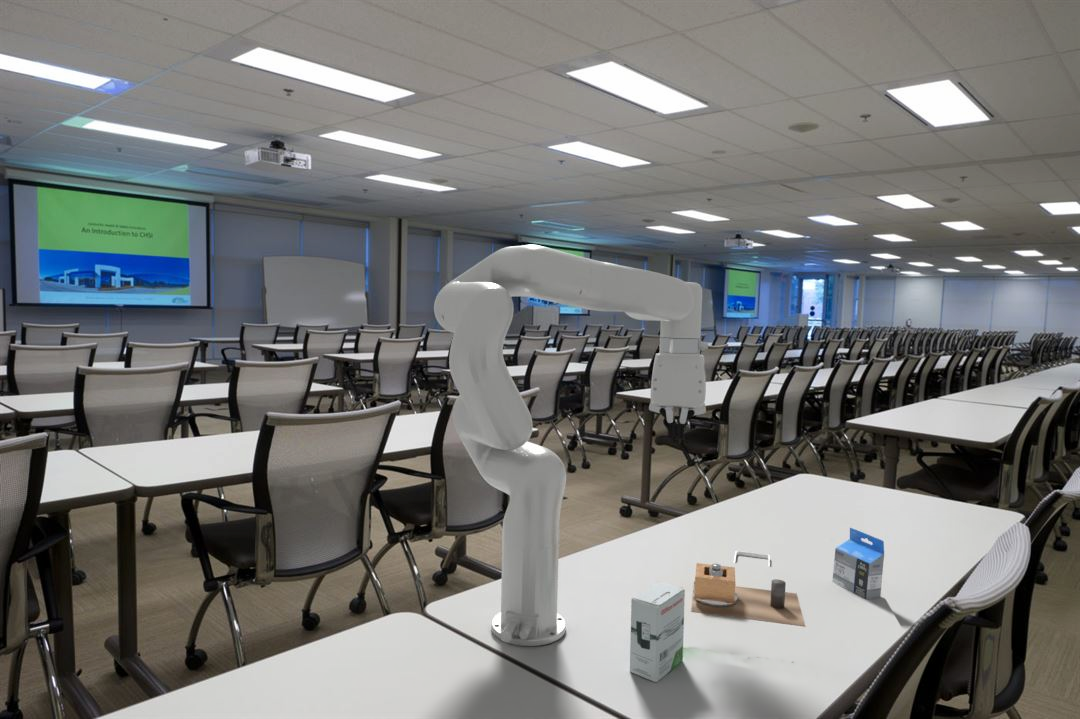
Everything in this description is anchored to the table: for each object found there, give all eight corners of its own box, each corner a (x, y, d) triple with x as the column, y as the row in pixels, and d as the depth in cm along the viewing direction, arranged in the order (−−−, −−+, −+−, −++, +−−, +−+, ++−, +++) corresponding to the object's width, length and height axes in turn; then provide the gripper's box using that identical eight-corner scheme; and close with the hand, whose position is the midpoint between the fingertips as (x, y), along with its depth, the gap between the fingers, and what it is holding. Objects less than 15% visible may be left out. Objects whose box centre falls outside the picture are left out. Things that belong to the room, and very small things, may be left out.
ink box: (656, 650, 113) (659, 579, 112) (684, 661, 110) (687, 587, 109) (627, 672, 106) (630, 596, 105) (655, 684, 103) (658, 605, 102)
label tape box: (830, 588, 140) (834, 528, 139) (846, 586, 141) (850, 526, 140) (865, 607, 131) (869, 543, 130) (882, 604, 133) (886, 541, 132)
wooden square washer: (734, 603, 126) (735, 581, 125) (694, 598, 127) (695, 576, 127) (733, 588, 132) (734, 567, 132) (695, 583, 134) (696, 563, 134)
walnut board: (804, 634, 120) (806, 600, 119) (690, 619, 124) (692, 586, 124) (796, 601, 133) (797, 570, 133) (693, 588, 138) (695, 558, 137)
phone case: (735, 556, 158) (731, 580, 144) (735, 550, 158) (731, 574, 144) (769, 560, 156) (769, 586, 141) (770, 554, 155) (769, 579, 141)
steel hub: (737, 610, 125) (739, 575, 125) (691, 604, 127) (693, 570, 127) (736, 592, 133) (738, 560, 132) (693, 587, 135) (694, 555, 134)
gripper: (720, 347, 135) (716, 442, 136) (642, 344, 138) (638, 436, 140) (720, 350, 128) (715, 449, 129) (637, 347, 131) (634, 443, 133)
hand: (675, 442), depth 135 cm, fingers closed
